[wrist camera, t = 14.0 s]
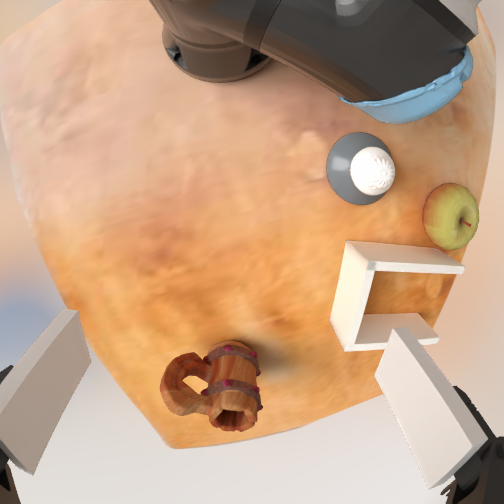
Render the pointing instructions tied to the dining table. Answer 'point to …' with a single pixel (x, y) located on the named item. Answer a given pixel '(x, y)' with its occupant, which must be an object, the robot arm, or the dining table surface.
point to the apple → (450, 216)
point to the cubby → (358, 287)
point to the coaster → (341, 163)
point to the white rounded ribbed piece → (372, 171)
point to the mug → (216, 386)
